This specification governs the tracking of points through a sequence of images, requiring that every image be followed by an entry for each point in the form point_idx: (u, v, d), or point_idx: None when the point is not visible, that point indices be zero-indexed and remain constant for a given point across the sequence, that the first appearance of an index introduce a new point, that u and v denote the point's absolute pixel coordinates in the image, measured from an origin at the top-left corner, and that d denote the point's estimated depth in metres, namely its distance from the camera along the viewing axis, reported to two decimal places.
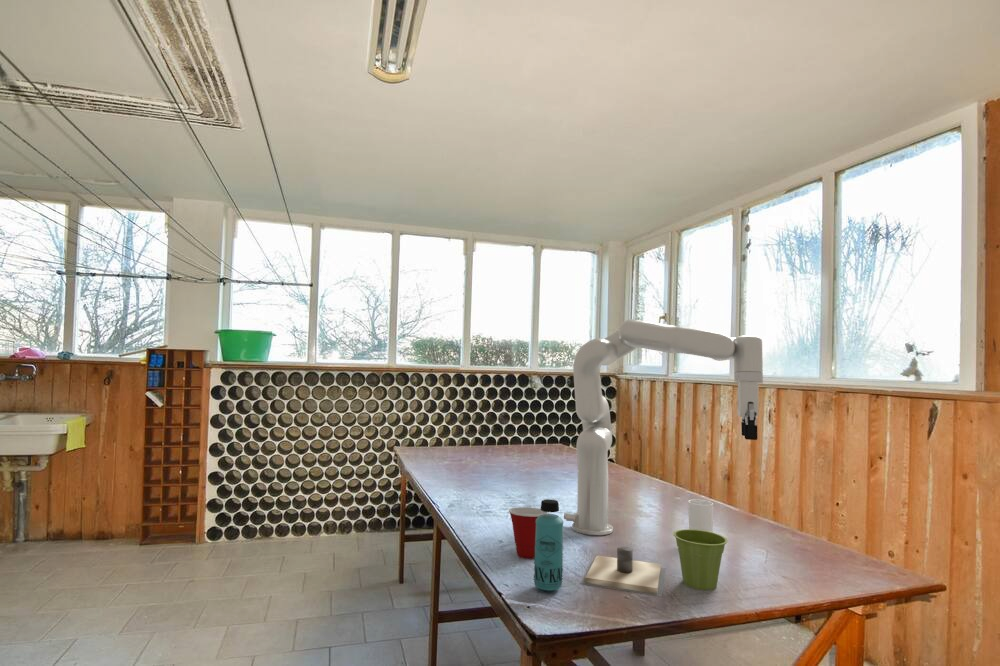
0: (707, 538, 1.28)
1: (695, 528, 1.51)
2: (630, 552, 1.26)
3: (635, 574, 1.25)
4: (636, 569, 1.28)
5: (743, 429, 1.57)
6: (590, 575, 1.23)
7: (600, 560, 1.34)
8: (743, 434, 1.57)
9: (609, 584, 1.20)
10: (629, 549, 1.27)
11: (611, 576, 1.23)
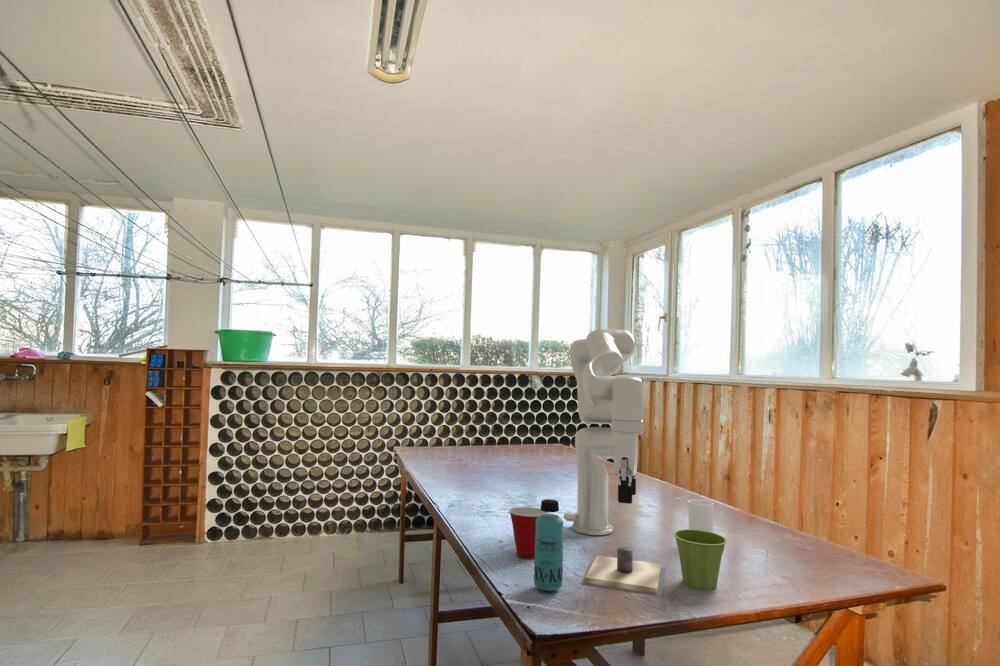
0: (707, 538, 1.28)
1: (695, 528, 1.51)
2: (630, 552, 1.26)
3: (635, 574, 1.25)
4: (636, 569, 1.28)
5: None
6: (590, 575, 1.23)
7: (600, 560, 1.34)
8: None
9: (609, 584, 1.20)
10: (629, 549, 1.27)
11: (611, 576, 1.23)
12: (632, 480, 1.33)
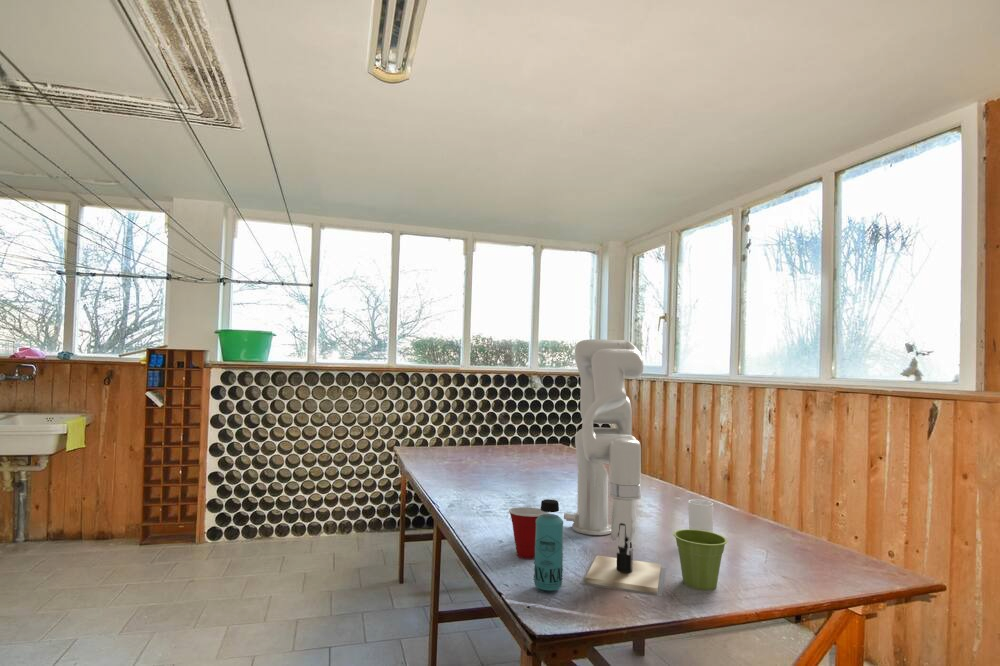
0: (707, 538, 1.28)
1: (695, 528, 1.51)
2: (630, 552, 1.26)
3: (635, 574, 1.25)
4: (636, 569, 1.28)
5: None
6: (590, 575, 1.23)
7: (600, 560, 1.34)
8: None
9: (609, 584, 1.20)
10: None
11: (611, 576, 1.23)
12: None
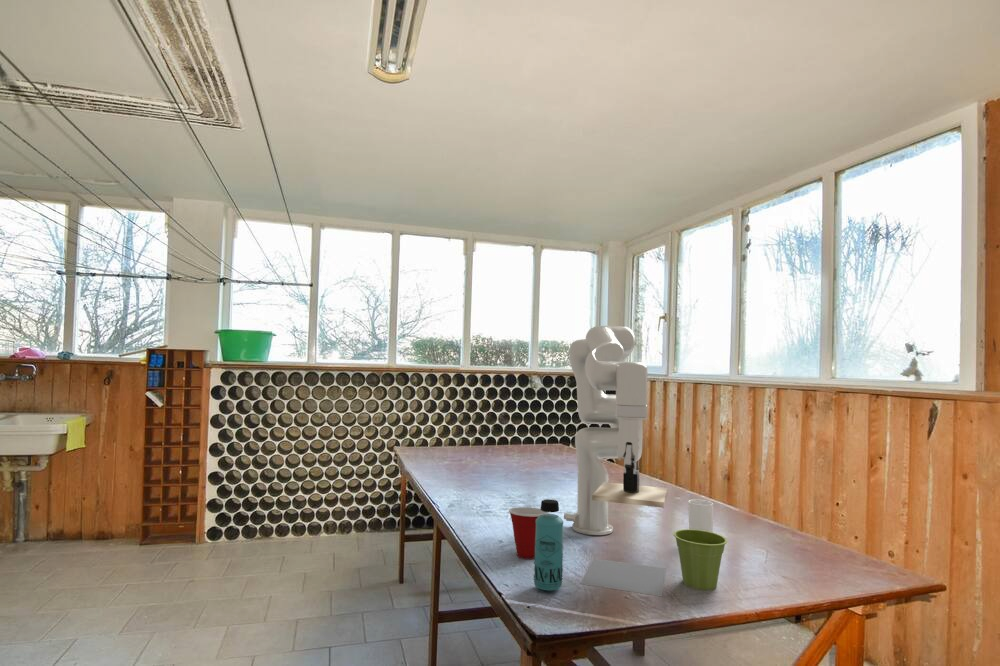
0: (707, 538, 1.28)
1: (695, 528, 1.51)
2: (637, 472, 1.27)
3: (642, 493, 1.26)
4: (642, 490, 1.29)
5: None
6: (597, 494, 1.24)
7: (607, 485, 1.35)
8: None
9: (616, 500, 1.21)
10: (636, 470, 1.28)
11: (618, 494, 1.24)
12: None
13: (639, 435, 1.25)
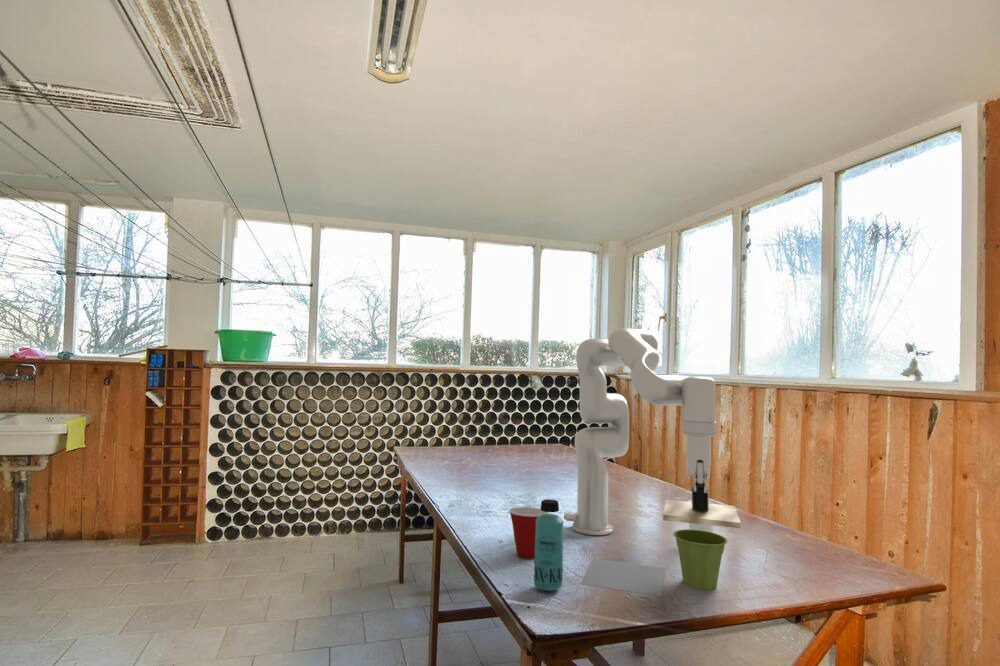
0: (707, 538, 1.28)
1: (695, 528, 1.51)
2: None
3: (713, 512, 1.22)
4: (711, 509, 1.25)
5: None
6: (667, 513, 1.20)
7: (671, 503, 1.31)
8: None
9: (688, 520, 1.17)
10: None
11: (689, 514, 1.20)
12: None
13: (710, 452, 1.21)
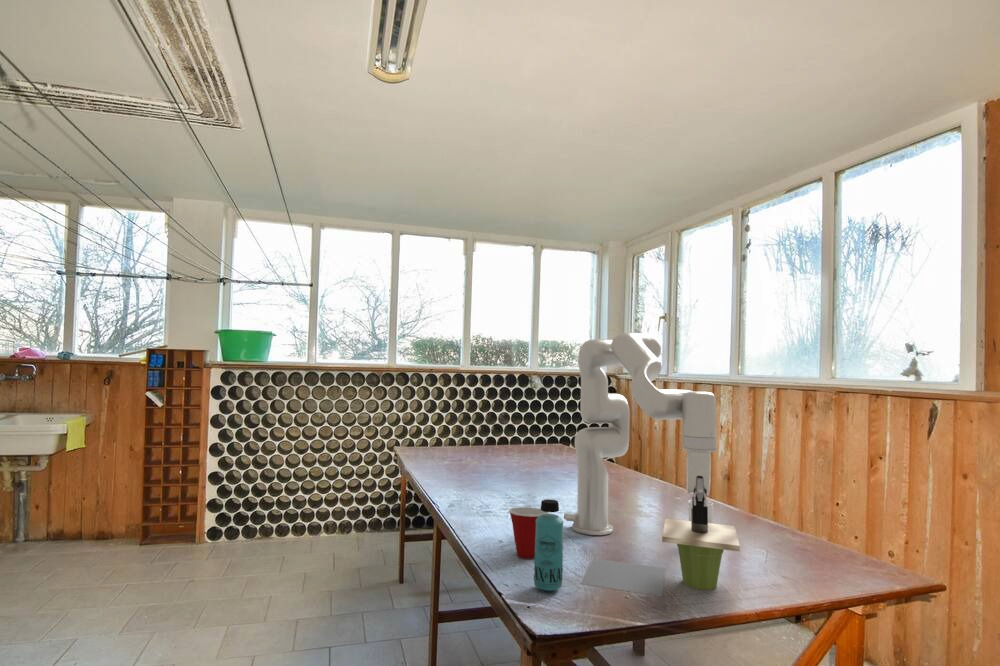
0: None
1: None
2: None
3: (712, 534, 1.22)
4: (710, 530, 1.25)
5: None
6: (666, 535, 1.20)
7: (670, 522, 1.31)
8: None
9: (688, 543, 1.17)
10: None
11: (688, 535, 1.20)
12: None
13: (710, 468, 1.21)
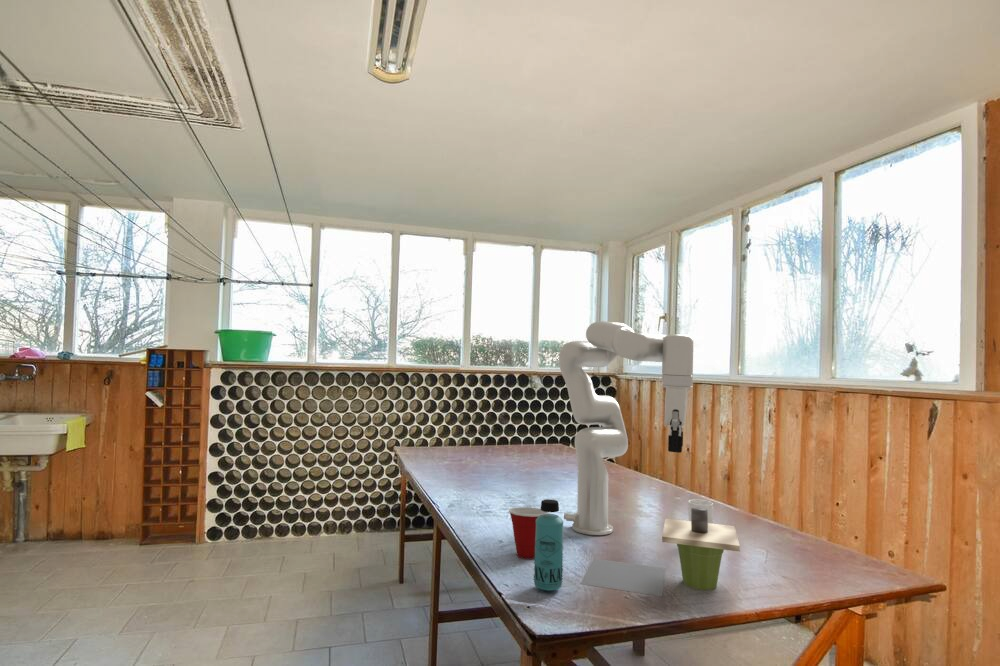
0: None
1: None
2: (706, 512, 1.23)
3: (712, 534, 1.22)
4: (710, 530, 1.25)
5: None
6: (666, 535, 1.20)
7: (670, 522, 1.31)
8: None
9: (688, 543, 1.17)
10: (704, 509, 1.24)
11: (688, 535, 1.20)
12: None
13: (685, 403, 1.32)
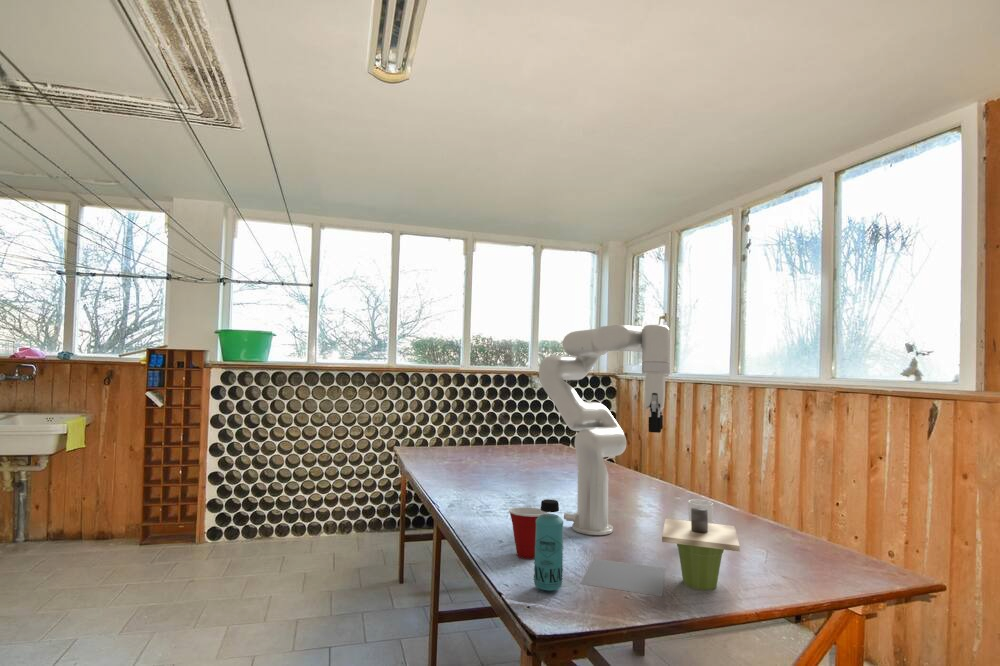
0: None
1: None
2: (706, 512, 1.23)
3: (712, 534, 1.22)
4: (710, 530, 1.25)
5: None
6: (666, 535, 1.20)
7: (670, 522, 1.31)
8: None
9: (687, 543, 1.17)
10: (704, 509, 1.24)
11: (688, 535, 1.20)
12: (659, 416, 1.51)
13: (663, 387, 1.44)
